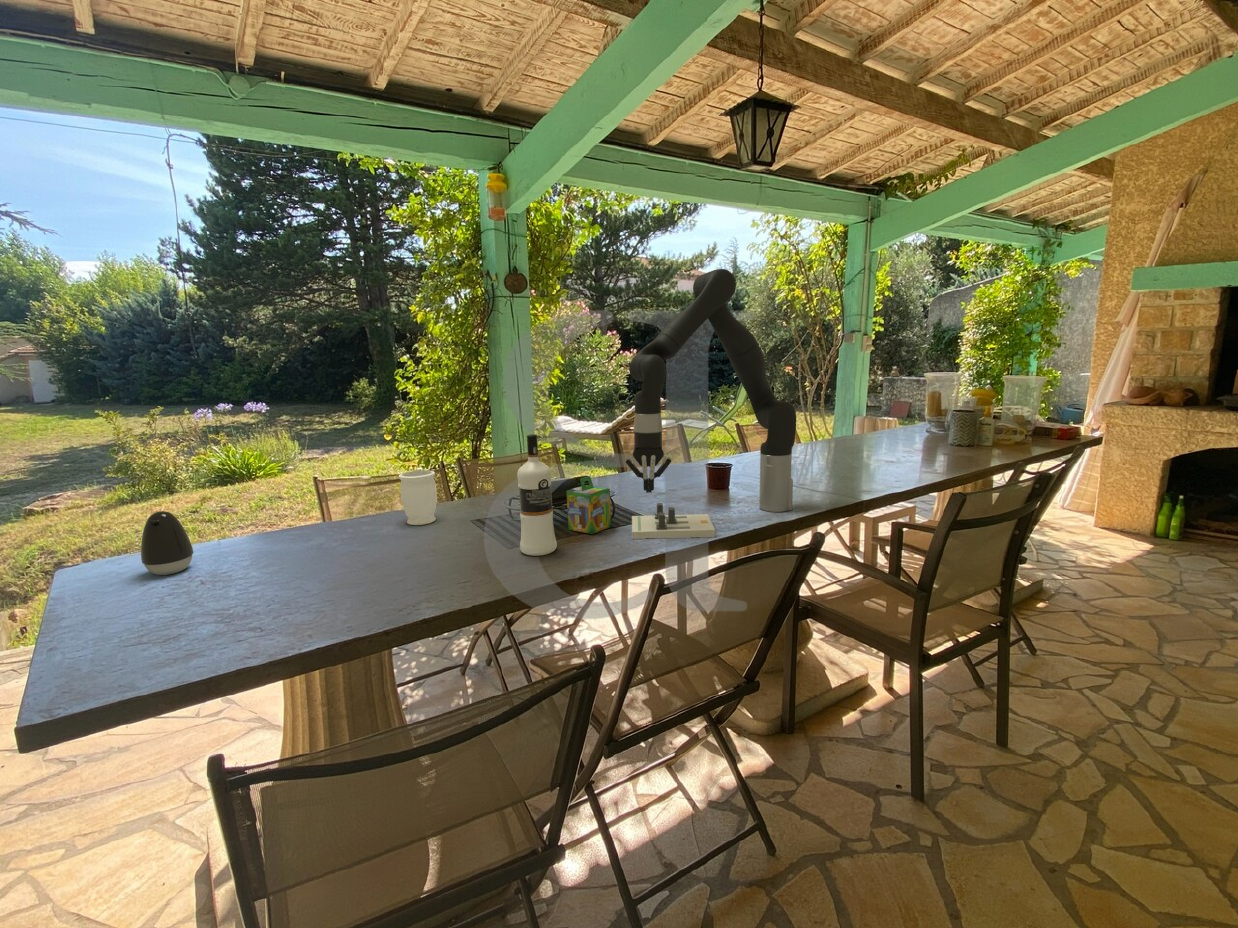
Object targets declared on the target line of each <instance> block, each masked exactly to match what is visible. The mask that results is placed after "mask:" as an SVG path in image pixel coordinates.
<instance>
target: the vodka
mask: <svg viewBox="0 0 1238 928" xmlns="http://www.w3.org/2000/svg"><path fill="white" fill-rule="evenodd" d="M526 442H527V443H526V446H527V462H525V463H524V464H523V465H521V466H520V467H519V468H518V470H517V474H516V476H517V481H518V483H517V486H518V492H519V509H520V513H519V517H520V530H521V531H520V542H519V549H520V551H521V552H522V553H523V554H524V555H527V556H529V557H530V556H531V557H540V556H545V555H549V554H551V553H554V551H555V550H556V549H557V547H558V546H557V545H558V544H557V543H558V542H557V538H556V535H555V528H554V516H553V515H554V511H553V499H552V498H553V497H552V472H551V469H550V467H549V465H546V464H545V463H543V462H542V461H540V459H539V447H538V446H539V445H538V444H539V443H538V435H537V434H532V433H530V434H527V435H526Z"/></svg>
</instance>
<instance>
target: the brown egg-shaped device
mask: <svg viewBox="0 0 1238 928" xmlns="http://www.w3.org/2000/svg"><path fill="white" fill-rule="evenodd" d="M141 536H142V537H141V544H140V561H141V564H143V565H144V567H145V568H146V570H147V571H148V572H150V573H151V574H154V575H158V576H169V575H174V574H177V573H180V572H182V571H184V570H185V569H187V568H188V567H189V566H190V564H191V562H192V559H193V554H194V549H193V545H192V542H191V540H190V538H189V535H188V533H187V531H186V529H185V528H184V526H183V525H182V522H180V520H179V519H178V517H176V516H175V515H174V514H173V513H171V512H169V511H165V510H160V511H156V512H154V513H152V514H151V515H149V517H148V518H147V520H146V522H145V523H144V527H143V530H142V535H141Z"/></svg>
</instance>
